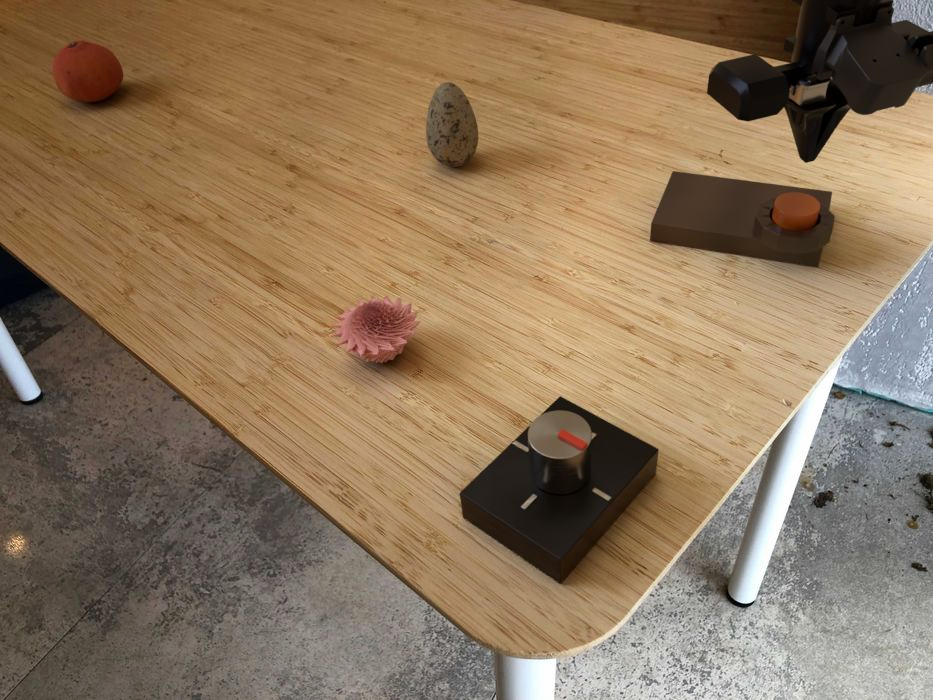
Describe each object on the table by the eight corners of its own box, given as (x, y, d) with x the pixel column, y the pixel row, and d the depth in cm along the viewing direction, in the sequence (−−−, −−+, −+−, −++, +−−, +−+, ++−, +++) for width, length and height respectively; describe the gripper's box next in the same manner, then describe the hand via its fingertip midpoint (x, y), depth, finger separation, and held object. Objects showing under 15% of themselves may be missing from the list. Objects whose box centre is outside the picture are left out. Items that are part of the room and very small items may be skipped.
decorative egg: (454, 145, 102) (445, 66, 96) (491, 160, 99) (485, 79, 92) (419, 167, 99) (408, 87, 93) (456, 182, 96) (447, 101, 89)
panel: (560, 421, 69) (560, 394, 67) (656, 474, 64) (659, 447, 62) (462, 517, 63) (458, 491, 61) (560, 584, 58) (560, 559, 56)
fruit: (52, 110, 119) (27, 54, 114) (92, 81, 125) (71, 27, 120) (102, 116, 116) (79, 60, 111) (141, 86, 122) (121, 32, 117)
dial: (517, 474, 61) (514, 435, 58) (554, 437, 64) (553, 398, 61) (566, 505, 59) (566, 466, 56) (603, 466, 61) (604, 426, 58)
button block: (832, 210, 86) (841, 176, 84) (821, 277, 79) (830, 242, 76) (671, 188, 92) (674, 155, 89) (646, 249, 84) (648, 215, 82)
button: (818, 211, 81) (822, 195, 79) (814, 234, 78) (818, 219, 77) (774, 205, 82) (777, 189, 81) (769, 228, 79) (772, 212, 78)
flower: (403, 393, 73) (393, 345, 69) (321, 374, 75) (307, 328, 71) (438, 333, 78) (431, 286, 74) (360, 318, 80) (350, 271, 77)
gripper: (797, 45, 58) (761, 233, 68) (1029, -8, 61) (960, 180, 71) (714, -10, 66) (694, 167, 76) (923, -54, 69) (876, 122, 79)
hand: (806, 160), depth 76 cm, fingers closed
